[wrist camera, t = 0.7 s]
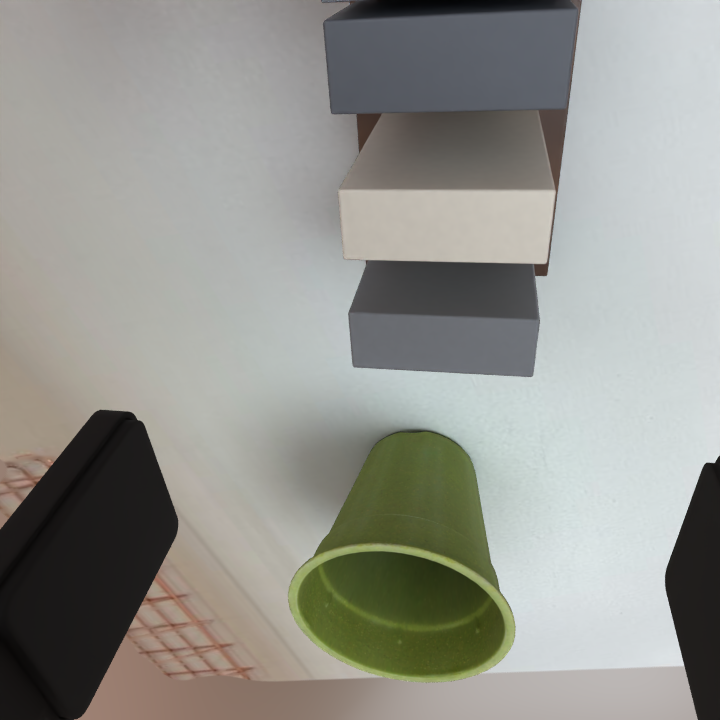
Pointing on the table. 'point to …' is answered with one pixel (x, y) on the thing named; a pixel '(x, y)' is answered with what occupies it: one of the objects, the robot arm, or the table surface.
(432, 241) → the beige box
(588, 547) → the table surface
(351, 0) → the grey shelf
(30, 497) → the robot arm
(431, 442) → the plant pot
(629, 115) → the table surface
